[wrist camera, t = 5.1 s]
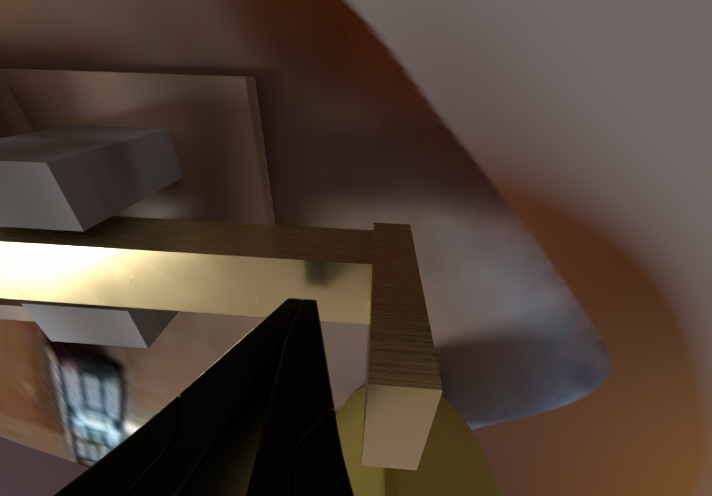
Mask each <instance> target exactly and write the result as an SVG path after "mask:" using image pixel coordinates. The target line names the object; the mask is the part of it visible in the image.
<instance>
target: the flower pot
mask: <svg viewBox="0 0 712 496" xmlns="http://www.w3.org/2000/svg"><path fill="white" fill-rule="evenodd" d="M364 399H365V385H364V386H363V387H361V388H360V389H359V390H357V391H356V392H355V393H353V394H352V395H351V396H350V397H349V399H348V400H347V401H346V403H345V404H344V405H343V407H342V408H341V409H340V411H339V412H338V414H337V415H336V420H337V426H338V432H339V437H340V442H341V447H342V452H343V456H344V460H345V464H346V468H347V471H348V475H349V479H350V483H351V486H352V490H353V493H354V496H502V494H501V492H500V489H499V487H498V484H497V482H496V479H495V477H494V474H493V472H492V470H491V467H490V465H489V463H488V460H487V458H486V456H485V454H484V452H483V450H482V448H481V446H480V444H479V442H478V441H477V439H476V437H475V435H474V434H473V432H472V431H471V429H470V428H469V426H468V425H467V423H466V422H465V421H464V419H463V418H462V417H461V415H460V414H459V413H458V412H457V411H456V409H455V408H454V407H453V406H452V405H451V404H450V403H449V402H448V401H447V399H446V398H445V397H444V396H443V395H442V394H441V397H440V400H439V403H438V406H437V409H436V413H435V416H434V419H433V422H432V425H431V428H430V431H429V434H428V437H427V440H426V443H425V446H424V450H423V453H422V456H421V459H420V462H419V465H418V468H417V470H406V469H396V468H385V467H374V466H364V465H362V444H363V422H364Z"/></svg>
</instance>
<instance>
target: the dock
mask: <svg viewBox="0 0 712 496" xmlns="http://www.w3.org/2000/svg"><path fill="white" fill-rule="evenodd" d="M111 216H124V217H142V218H160V219H178V220H196V221H213V222H231V223H249V224H267V225H276V224H275V216H274V209H273V202H272V195H271V188H270V181H269V173H268V166H267V159H266V152H265V145H264V138H263V130H262V123H261V116H260V109H259V102H258V95H257V87H256V80H255V76H229V75H198V74H167V73H136V72H105V71H74V70H43V69H13V68H0V227H16V228H33V229H50V230H67V231H86V230H88V229H89V228H91V227H93V226H95V225H97V224H99V223H100V222H102V221H104V220H106V219H108V218H110V217H111ZM178 312H179V311H173V310H159V309H145V308H131V307H117V306H103V305H89V304H75V303H60V302H46V301H32V300H18V299H4V298H0V319H8V320H21V321H35V322H36V323H37V324H38V325H39V327H40V328H41V329H42V330H43V332H44V333H45V334H46V335H47V336H48V338H49V339H50V340H51V341H61V342H73V343H86V344H99V345H112V346H125V347H138V348H149V347H150V345H151V344H152V343H153V342H154V341H155V339H156V338H157V337H158V336H159V335H160V333H161V332H162V331H163V330H164V329H165V327H166V326H167V325H168V324H169V323H170V321H171V320H172V319H173V318H174V317H175V315H176V314H177V313H178Z"/></svg>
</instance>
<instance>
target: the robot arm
mask: <svg viewBox="0 0 712 496" xmlns="http://www.w3.org/2000/svg"><path fill="white" fill-rule="evenodd" d="M54 496H354V493H353V490H352V486H351V483H350V479H349V475H348V471H347V468H346V464H345V460H344V456H343V452H342V447H341V442H340V437H339V432H338V426H337V420H336V414H335V411H334V403H333V397H332V391H331V384H330V378H329V372H328V366H327V360H326V354H325V348H324V342H323V336H322V330H321V323H320V317H319V311H318V305H317V301H316V300H311V299H303V300H302V299H297V298H288V299H287V300H285V301H284V302H283V303H282V304H281V305H280V306H279V307H277V308H276V309H275V310H274V311H273V312H272V313H271V314H269V315H268V316H267V317H266V318H265V319H264V320H263V321H261V322H260V323H259V324H258V325H257V326H256V327H255V328H254V329H252V330H251V331H250V332H249V333H248V334H247V335H246V336H244V337H243V338H242V339H241V340H240V341H239V342H238V343H237V344H235V345H234V346H233V347H232V348H231V349H230V350H229V351H227V352H226V353H225V354H224V355H223V356H222V357H221V358H220V359H218V360H217V361H216V362H215V363H214V364H213V365H212V366H210V367H209V368H208V369H207V370H206V371H205V372H204V373H203V374H201V375H200V376H199V377H198V378H197V379H196V380H195V381H193V382H192V383H191V384H190V385H189V386H188V387H187V388H186V389H184V390H183V391H182V392H181V393H180V397H179V396H176V397H175V398H174V399H173V400H172V401H171V402H169V403H168V404H167V405H166V406H165V407H164V408H163V409H161V410H160V411H159V412H158V413H157V414H156V415H154V416H153V417H152V418H151V419H150V420H149V421H147V422H146V423H145V424H144V425H143V426H142V427H140V428H139V429H138V430H137V431H136V432H134V433H133V434H132V435H131V436H129V437H128V438H127V439H126V440H124V441H123V442H122V443H121V444H119V445H118V446H117V447H116V448H114V449H113V450H112V451H111V452H109V453H108V454H107V455H105V456H104V457H103V458H102V459H100V460H99V461H98V462H97V463H95V464H94V465H93V466H91V467H90V468H89V469H88V470H86V471H85V472H84V473H82V474H81V475H80V476H79V477H77V478H76V479H74V480H73V481H72V482H71V483H69V484H68V485H67V486H65V487H64V488H63V489H61V490H60V491H59V492H58V493H56V494H55V495H54Z"/></svg>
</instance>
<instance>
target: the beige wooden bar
mask: <svg viewBox="0 0 712 496" xmlns="http://www.w3.org/2000/svg"><path fill="white" fill-rule="evenodd" d="M0 298H4V299H18V300H32V301H46V302H60V303H75V304H89V305H103V306H117V307H131V308H145V309H159V310H173V311H187V312H201V313H215V314H229V315H243V316H257V317H267V316H268V315H269V314H271V313H272V312H273V311H274V310H275V309H276V308H277V307H279V306H280V305H281V304H282V303H283V302H284V301H285V300H287V299H288V298H297V299H302V300H303V299H311V300H316V301H317V305H318V311H319V317H320V321H327V322H341V323H355V324H368V333H367V355H366V377H365V399H364V422H363V444H362V465H364V466H374V467H385V468H396V469H406V470H417V468H418V465H419V462H420V459H421V456H422V453H423V450H424V446H425V443H426V440H427V437H428V434H429V431H430V428H431V425H432V422H433V419H434V416H435V413H436V409H437V406H438V403H439V400H440V397H441V394H442V391H443V389H442V384H441V379H440V374H439V369H438V364H437V359H436V354H435V349H434V344H433V339H432V333H431V328H430V323H429V318H428V313H427V308H426V303H425V298H424V293H423V288H422V283H421V278H420V273H419V268H418V263H417V258H416V253H415V248H414V243H413V237H412V232H411V227H410V225H408V224H390V223H374V230H356V229H338V228H320V227H302V226H284V225H267V224H249V223H231V222H213V221H196V220H178V219H160V218H142V217H124V216H111V217H110V218H108V219H106V220H104V221H102V222H100V223H99V224H97V225H95V226H93V227H91V228H89V229H88V230H86V231H67V230H50V229H33V228H16V227H0Z"/></svg>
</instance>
